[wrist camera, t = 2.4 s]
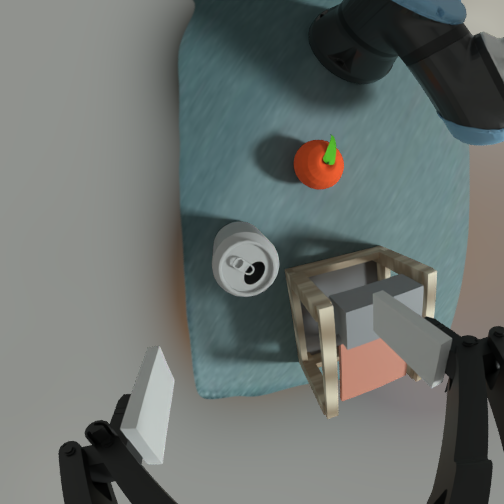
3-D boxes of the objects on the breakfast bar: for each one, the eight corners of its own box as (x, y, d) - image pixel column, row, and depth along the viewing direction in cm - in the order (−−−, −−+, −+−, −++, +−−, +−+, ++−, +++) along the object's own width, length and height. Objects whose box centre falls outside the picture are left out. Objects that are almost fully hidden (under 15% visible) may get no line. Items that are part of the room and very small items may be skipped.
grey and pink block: (321, 297, 33) (337, 315, 28) (406, 271, 34) (429, 283, 29) (329, 391, 37) (340, 412, 32) (401, 362, 38) (417, 379, 33)
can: (244, 280, 42) (255, 314, 31) (203, 252, 40) (197, 278, 29) (274, 240, 41) (296, 260, 30) (233, 210, 40) (239, 219, 28)
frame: (284, 269, 43) (317, 310, 28) (379, 245, 44) (438, 270, 29) (299, 362, 47) (326, 419, 32) (381, 335, 48) (425, 377, 34)
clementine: (298, 130, 38) (313, 119, 31) (339, 147, 39) (360, 141, 32) (282, 180, 39) (295, 178, 33) (324, 195, 41) (344, 197, 34)
